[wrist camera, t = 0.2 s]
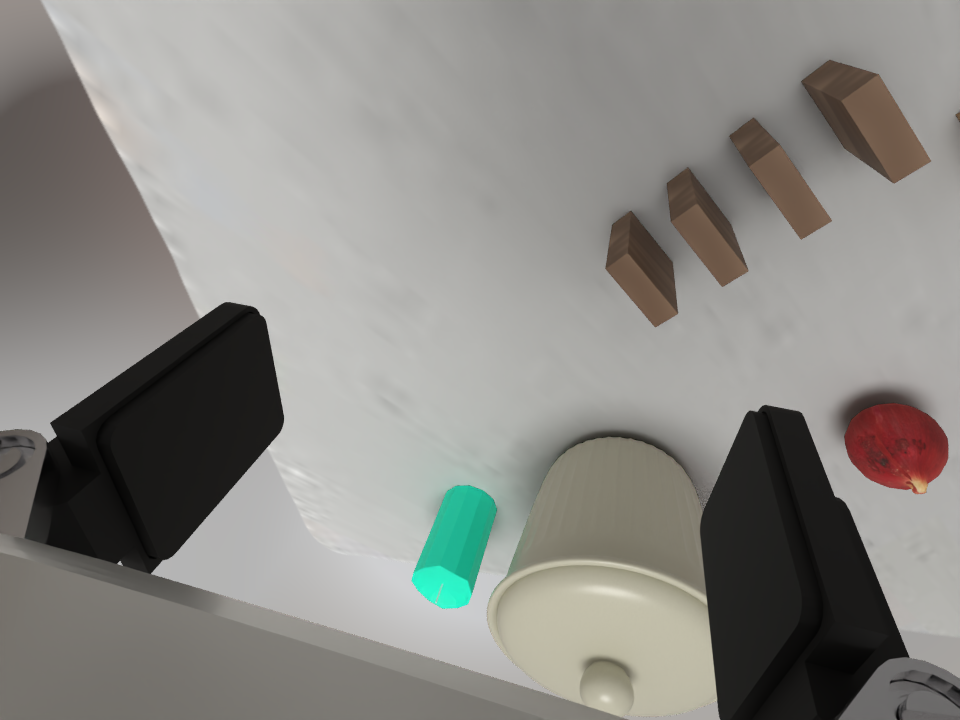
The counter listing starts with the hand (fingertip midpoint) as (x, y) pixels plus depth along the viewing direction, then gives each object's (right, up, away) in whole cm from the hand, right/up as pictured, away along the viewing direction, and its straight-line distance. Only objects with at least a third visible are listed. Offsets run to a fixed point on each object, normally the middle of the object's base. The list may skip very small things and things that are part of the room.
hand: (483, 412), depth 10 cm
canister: (+13, -10, +41) cm, 45 cm away
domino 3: (+18, +14, +24) cm, 33 cm away
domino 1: (+12, +9, +28) cm, 32 cm away
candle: (-1, -15, +49) cm, 51 cm away
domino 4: (+21, +16, +21) cm, 34 cm away
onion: (+31, -3, +31) cm, 44 cm away
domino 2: (+15, +12, +26) cm, 32 cm away
